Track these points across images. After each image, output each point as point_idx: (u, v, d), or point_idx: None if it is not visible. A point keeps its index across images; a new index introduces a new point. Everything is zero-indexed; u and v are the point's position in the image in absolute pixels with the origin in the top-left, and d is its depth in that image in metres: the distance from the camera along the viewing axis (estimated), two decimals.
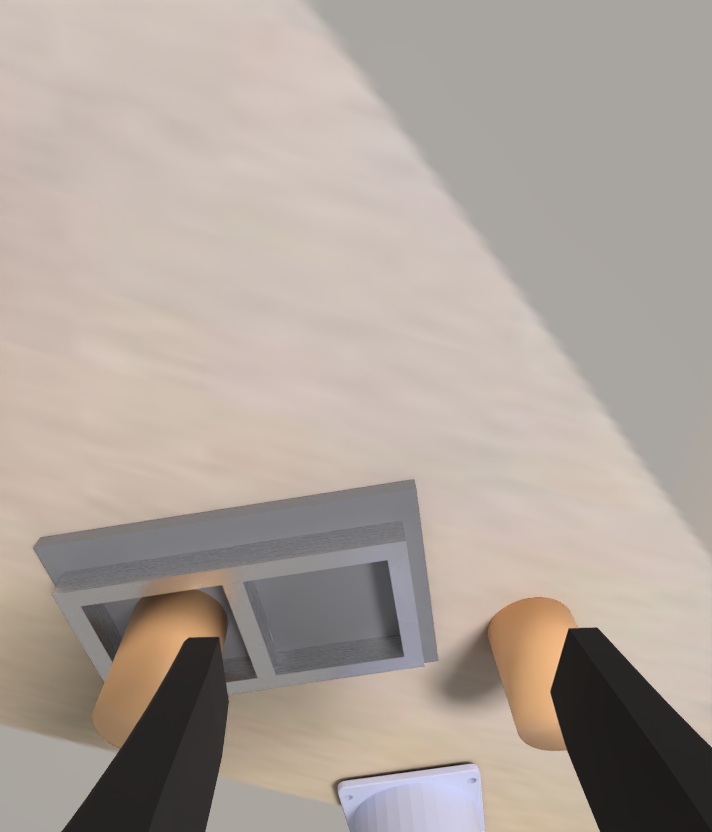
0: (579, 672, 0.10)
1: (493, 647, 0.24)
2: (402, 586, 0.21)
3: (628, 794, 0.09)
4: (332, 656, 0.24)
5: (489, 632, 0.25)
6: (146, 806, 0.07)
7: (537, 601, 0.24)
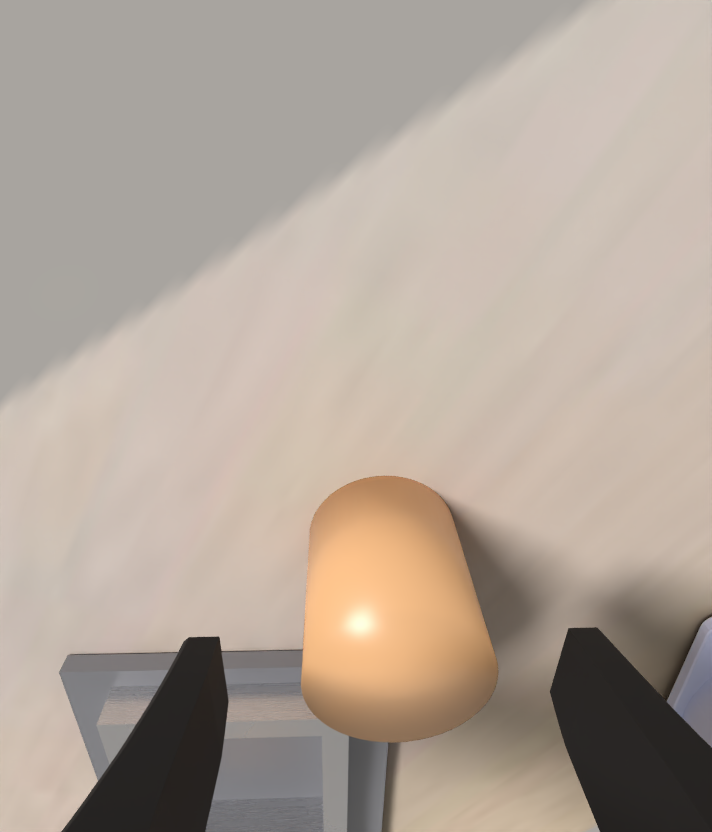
0: (579, 672, 0.10)
1: None
2: None
3: (628, 794, 0.09)
4: None
5: None
6: (146, 806, 0.07)
7: None
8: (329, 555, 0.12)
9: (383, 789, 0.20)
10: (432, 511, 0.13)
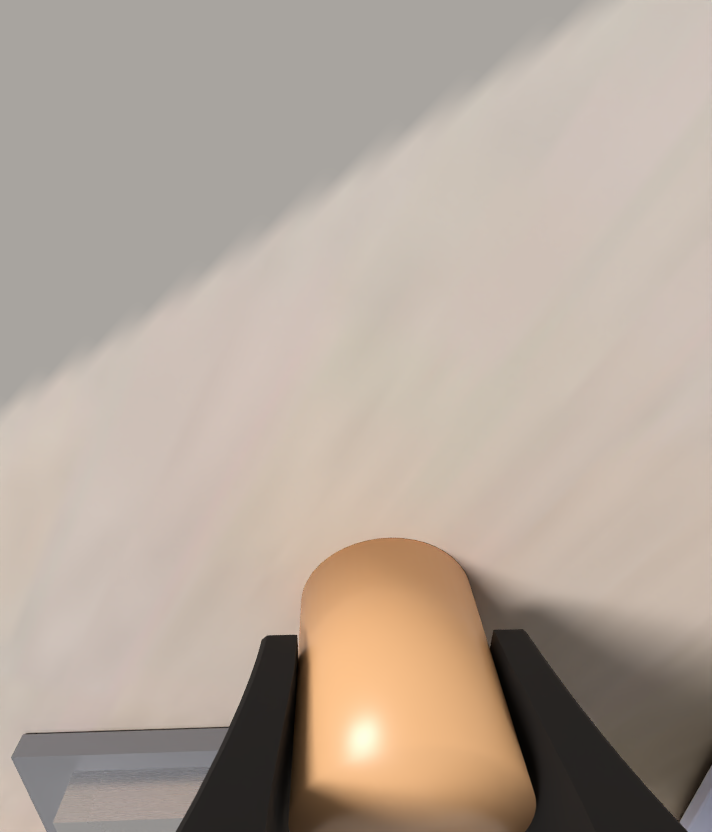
0: (501, 674, 0.10)
1: None
2: (150, 827, 0.13)
3: (538, 797, 0.09)
4: None
5: None
6: (256, 802, 0.08)
7: (301, 606, 0.12)
8: (324, 647, 0.10)
9: None
10: (448, 585, 0.11)
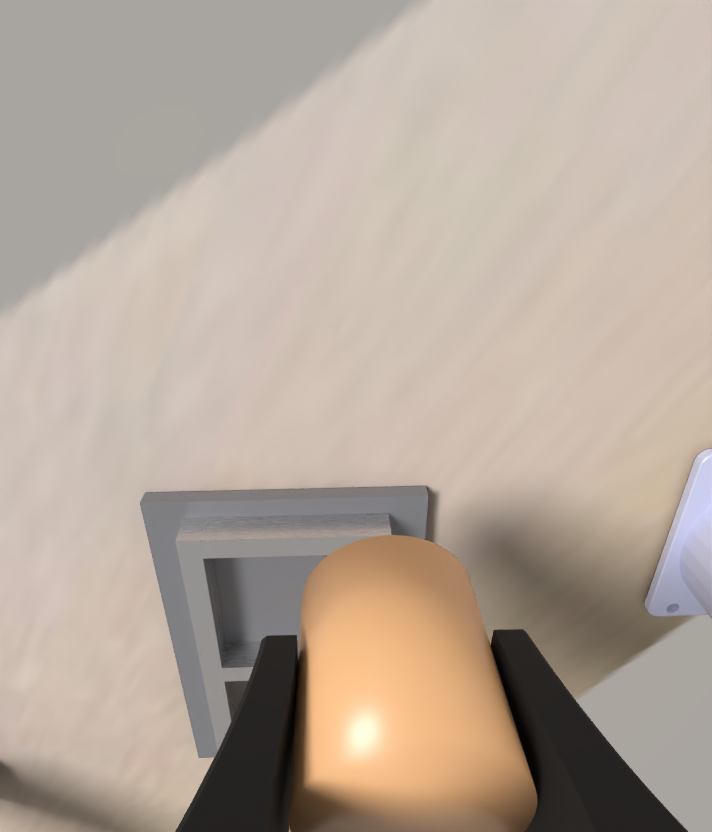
0: (501, 674, 0.10)
1: None
2: (245, 548, 0.18)
3: (538, 797, 0.09)
4: None
5: None
6: (255, 802, 0.08)
7: (301, 602, 0.12)
8: (325, 643, 0.10)
9: None
10: (450, 583, 0.11)
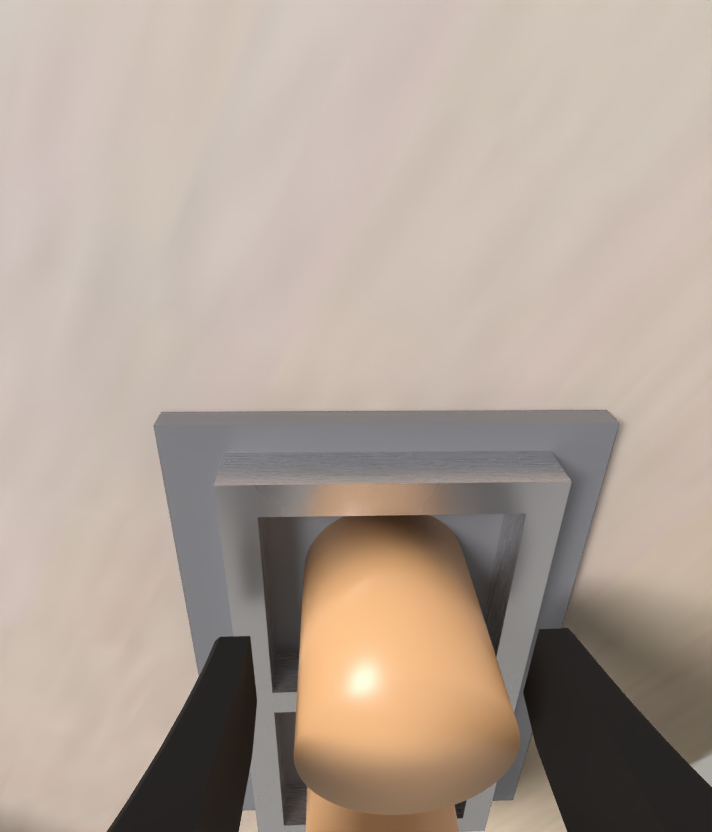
0: (548, 673, 0.10)
1: None
2: (330, 500, 0.11)
3: (593, 795, 0.09)
4: (498, 601, 0.13)
5: None
6: (190, 804, 0.08)
7: (304, 568, 0.13)
8: (328, 599, 0.11)
9: None
10: (444, 549, 0.12)
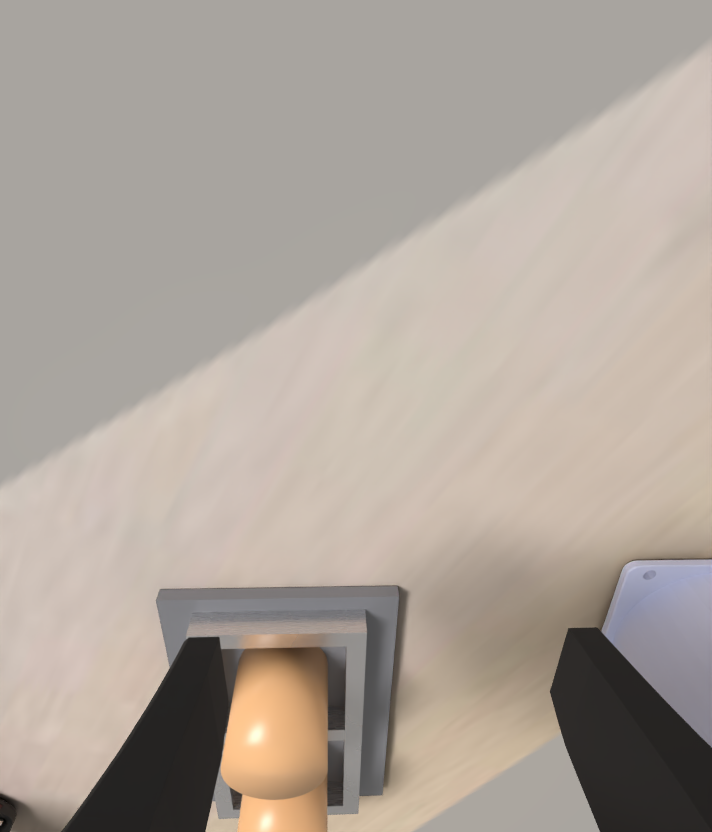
0: (579, 672, 0.10)
1: None
2: (244, 641, 0.22)
3: (628, 794, 0.09)
4: (345, 684, 0.24)
5: None
6: (146, 806, 0.07)
7: None
8: (242, 692, 0.21)
9: (389, 699, 0.26)
10: (307, 662, 0.23)
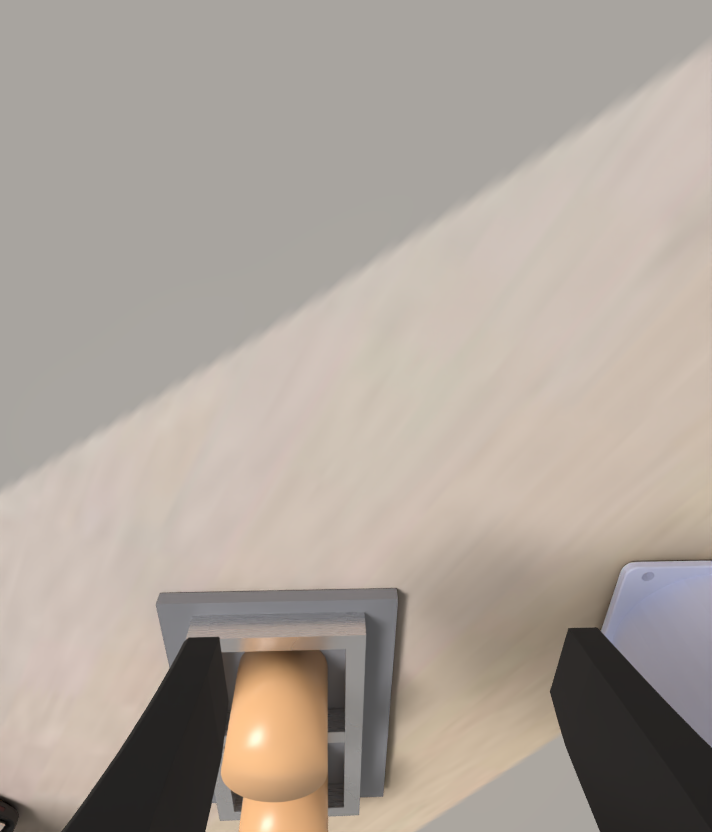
0: (579, 672, 0.10)
1: None
2: (244, 644, 0.22)
3: (628, 794, 0.09)
4: None
5: None
6: (145, 806, 0.07)
7: (238, 669, 0.24)
8: (243, 695, 0.22)
9: (389, 701, 0.26)
10: (307, 665, 0.23)
